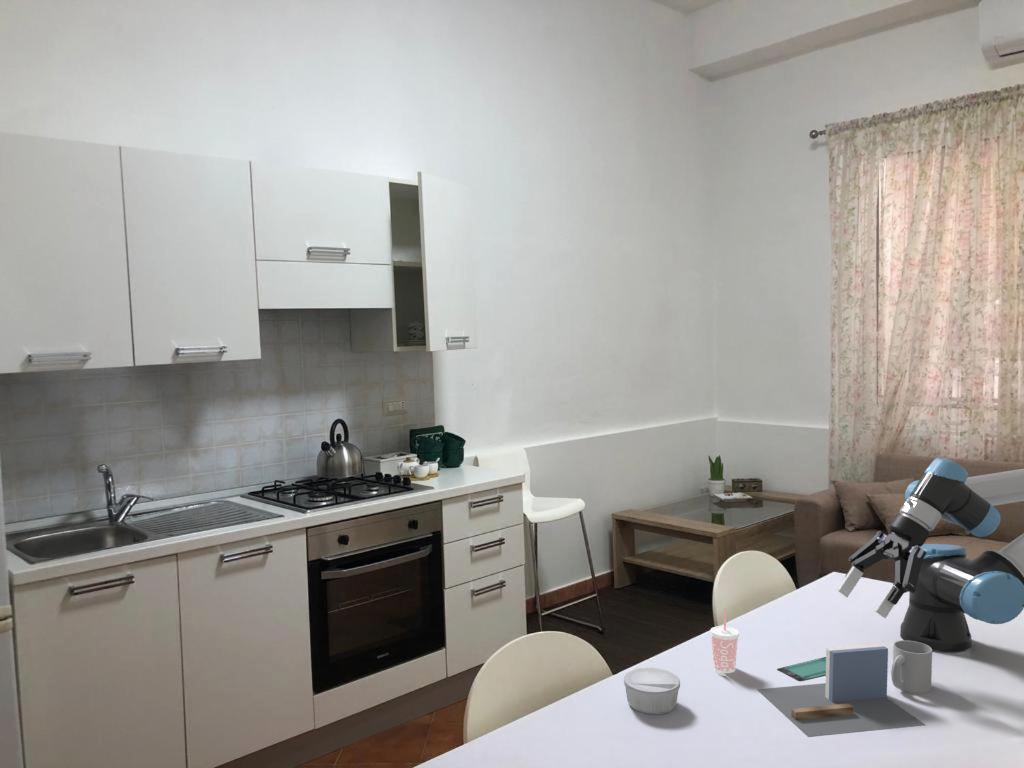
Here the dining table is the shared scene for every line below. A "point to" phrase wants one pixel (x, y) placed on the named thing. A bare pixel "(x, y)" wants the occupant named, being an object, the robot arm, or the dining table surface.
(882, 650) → the blue-grey flat block
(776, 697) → the mat
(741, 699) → the dining table surface
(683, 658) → the dining table surface
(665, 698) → the ramekin
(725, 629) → the beverage cup
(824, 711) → the strip
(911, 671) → the cup
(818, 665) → the smartphone
